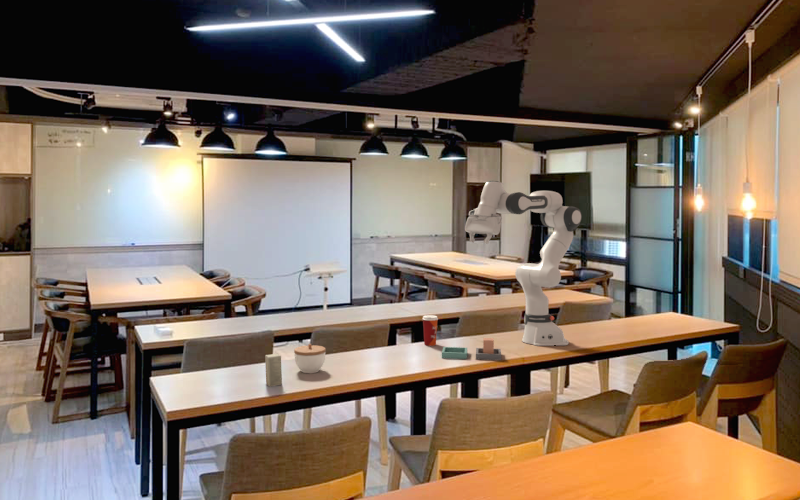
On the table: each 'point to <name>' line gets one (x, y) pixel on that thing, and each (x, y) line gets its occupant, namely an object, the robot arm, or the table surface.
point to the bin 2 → (488, 356)
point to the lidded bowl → (309, 358)
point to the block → (488, 345)
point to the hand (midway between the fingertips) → (478, 242)
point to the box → (273, 370)
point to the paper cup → (430, 329)
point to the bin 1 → (454, 352)
